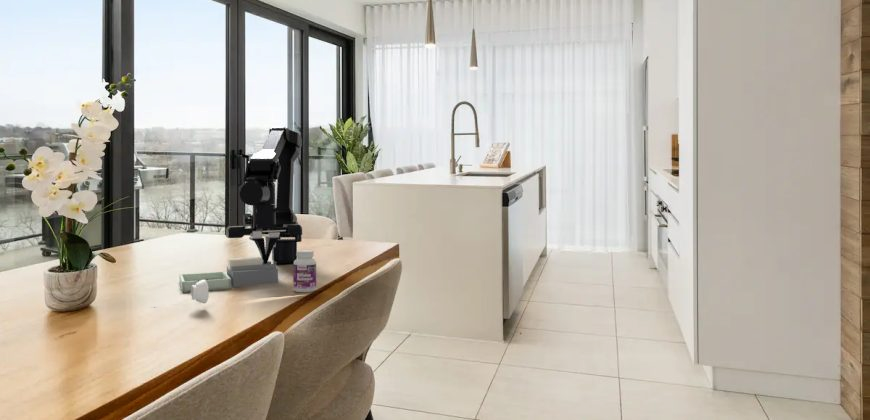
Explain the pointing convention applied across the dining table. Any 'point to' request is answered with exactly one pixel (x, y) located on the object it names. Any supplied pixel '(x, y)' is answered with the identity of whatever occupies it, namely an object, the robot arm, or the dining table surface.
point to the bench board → (253, 274)
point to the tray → (216, 284)
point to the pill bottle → (304, 272)
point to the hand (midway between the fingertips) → (265, 263)
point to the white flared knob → (200, 291)
